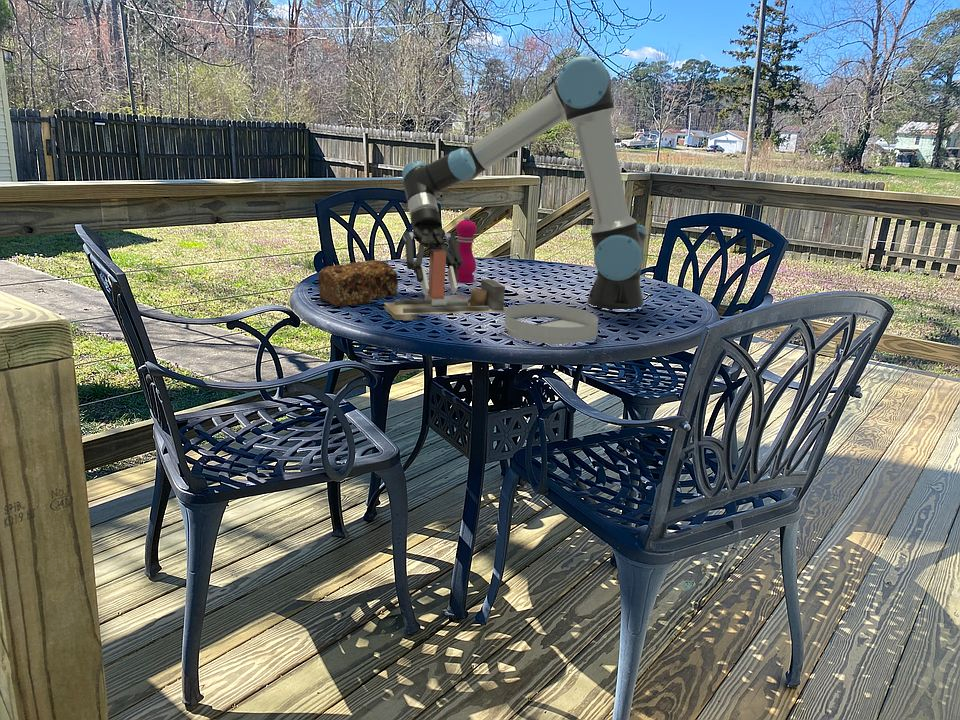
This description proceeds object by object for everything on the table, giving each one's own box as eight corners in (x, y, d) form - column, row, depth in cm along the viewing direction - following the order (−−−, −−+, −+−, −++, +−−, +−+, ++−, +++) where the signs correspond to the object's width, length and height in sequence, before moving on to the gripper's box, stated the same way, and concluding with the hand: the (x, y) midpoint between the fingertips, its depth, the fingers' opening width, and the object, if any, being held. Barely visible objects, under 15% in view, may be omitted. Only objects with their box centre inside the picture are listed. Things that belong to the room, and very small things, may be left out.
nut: (488, 305, 190) (489, 290, 189) (481, 309, 186) (482, 293, 185) (474, 302, 191) (475, 287, 190) (467, 306, 188) (468, 290, 187)
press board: (493, 305, 197) (495, 278, 195) (510, 316, 187) (512, 287, 184) (383, 308, 187) (384, 279, 184) (395, 320, 176) (395, 290, 174)
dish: (497, 343, 164) (499, 322, 162) (507, 319, 185) (509, 300, 183) (597, 353, 161) (600, 331, 160) (596, 328, 182) (598, 308, 181)
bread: (378, 293, 204) (379, 257, 201) (399, 301, 196) (400, 264, 193) (316, 299, 193) (316, 261, 190) (336, 308, 185) (336, 269, 182)
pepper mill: (474, 283, 223) (478, 217, 217) (451, 282, 223) (454, 215, 217) (475, 279, 230) (479, 214, 224) (452, 277, 230) (455, 212, 224)
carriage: (461, 302, 190) (464, 248, 186) (469, 308, 185) (472, 252, 181) (424, 303, 187) (426, 248, 183) (431, 309, 182) (433, 252, 177)
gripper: (456, 224, 197) (473, 298, 187) (384, 223, 190) (398, 300, 180) (464, 207, 190) (482, 282, 181) (390, 205, 183) (405, 283, 174)
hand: (440, 291), depth 180 cm, fingers open, 7 cm apart
